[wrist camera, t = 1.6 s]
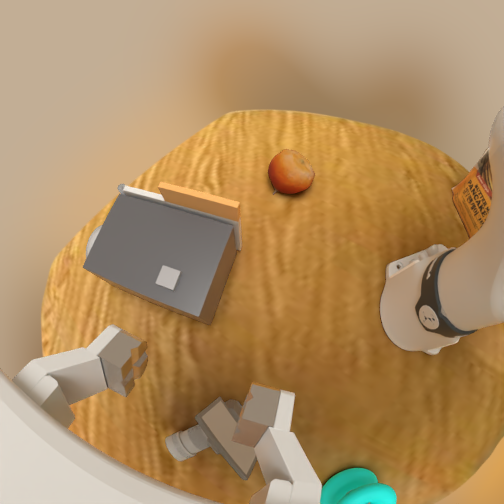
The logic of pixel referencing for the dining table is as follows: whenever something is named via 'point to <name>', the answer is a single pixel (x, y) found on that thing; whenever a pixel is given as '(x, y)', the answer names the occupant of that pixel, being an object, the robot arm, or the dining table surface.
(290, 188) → the fruit
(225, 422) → the camera
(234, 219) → the side door
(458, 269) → the robot arm
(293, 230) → the dining table surface
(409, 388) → the dining table surface
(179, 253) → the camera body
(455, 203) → the pancake mix bag
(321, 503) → the turquoise spool
